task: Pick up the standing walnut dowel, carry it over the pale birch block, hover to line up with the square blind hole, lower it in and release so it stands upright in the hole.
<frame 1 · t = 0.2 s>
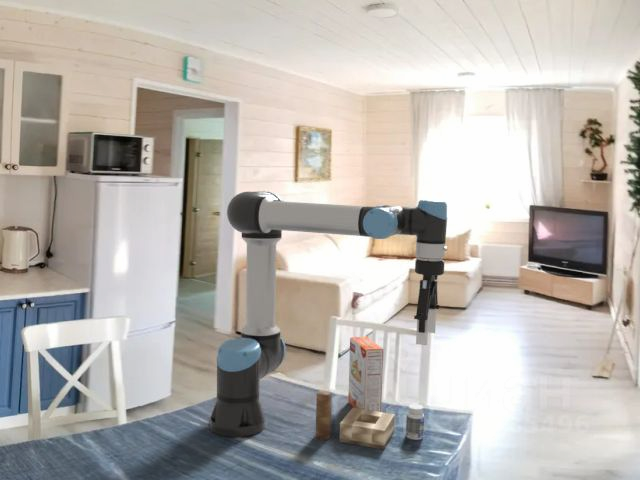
hand: (425, 338, 158), 28 cm above the table, fingers open, 13 cm apart
cracker box: (363, 410, 179), on the table
bore block: (367, 436, 160), on the table
pin: (322, 436, 159), on the table
pill bottle: (414, 437, 161), on the table
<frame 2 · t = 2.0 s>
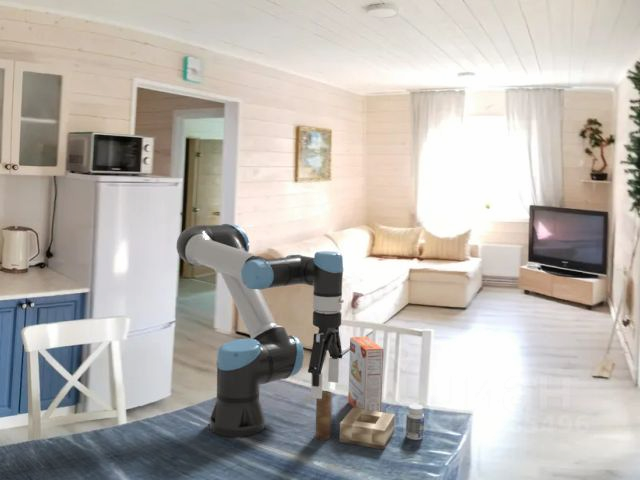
hand: (325, 389, 158), 13 cm above the table, fingers open, 13 cm apart
nothing on the table moved.
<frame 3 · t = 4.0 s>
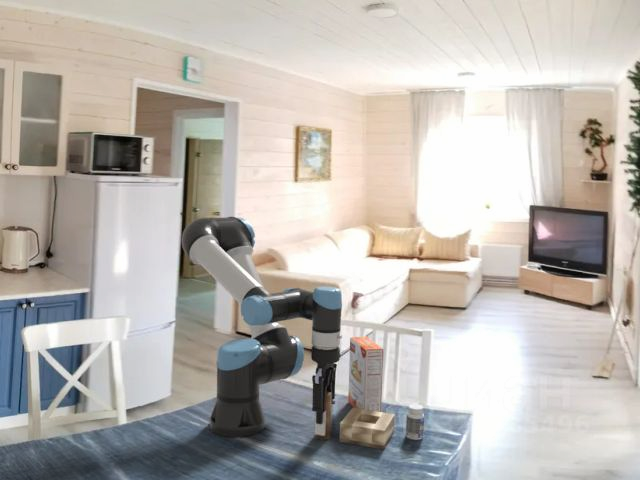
hand: (322, 430, 159), 2 cm above the table, fingers closed on pin, 4 cm apart
pin: (322, 436, 159), on the table, touching gripper
everything else where it was.
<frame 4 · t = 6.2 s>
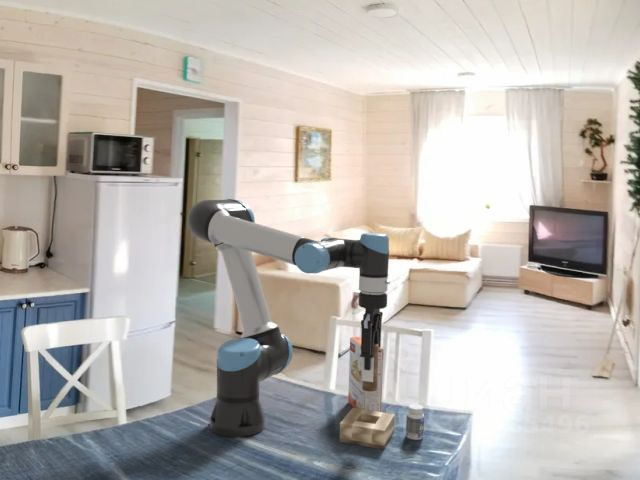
hand: (370, 378, 159), 16 cm above the table, fingers closed on pin, 4 cm apart
pin: (369, 388, 159), point 13 cm above the table, touching gripper
everything else where it was.
when the fingers open (6 cm above the table, at t = 8.4 s): pin drops 1 cm, resting on bore block.
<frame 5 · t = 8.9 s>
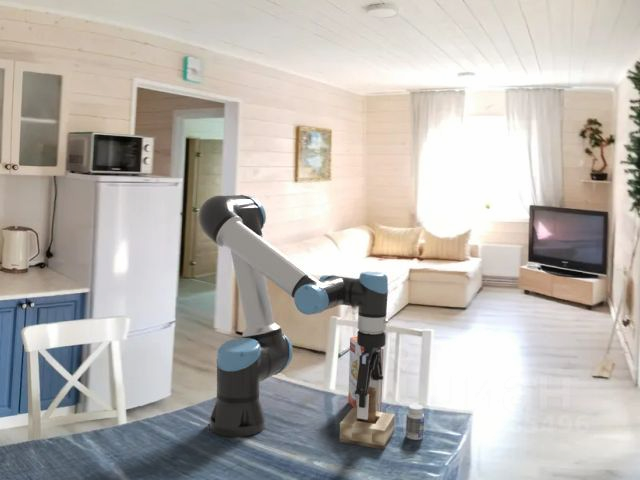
hand: (368, 410, 160), 7 cm above the table, fingers open, 11 cm apart
pin: (367, 432, 160), point 1 cm above the table, touching bore block
everything else where it was.
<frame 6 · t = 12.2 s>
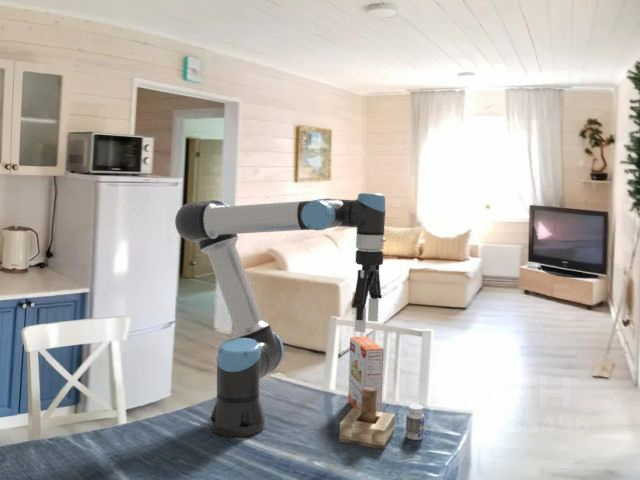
hand: (366, 326, 164), 29 cm above the table, fingers open, 13 cm apart
nothing on the table moved.
at the end: pin 0.1 cm off-centre on the bore block, point 1.0 cm above the bore block's base; pin tilted 0°; the gripper is holding nothing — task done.
